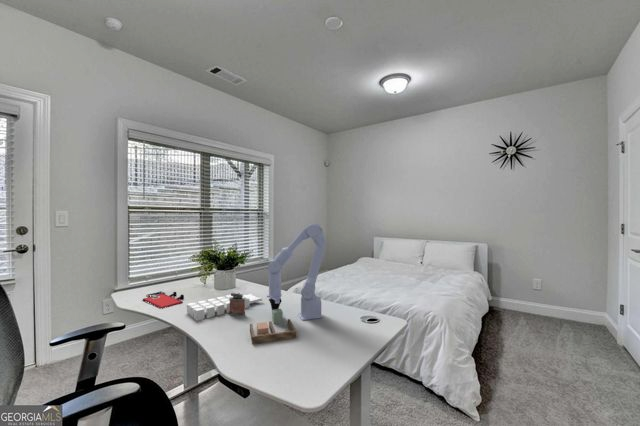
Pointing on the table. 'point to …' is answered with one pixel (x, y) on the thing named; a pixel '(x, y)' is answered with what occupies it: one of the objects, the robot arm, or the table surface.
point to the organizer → (215, 306)
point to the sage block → (277, 316)
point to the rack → (273, 334)
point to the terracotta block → (262, 328)
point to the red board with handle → (163, 299)
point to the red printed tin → (237, 304)
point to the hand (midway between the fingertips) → (275, 314)
